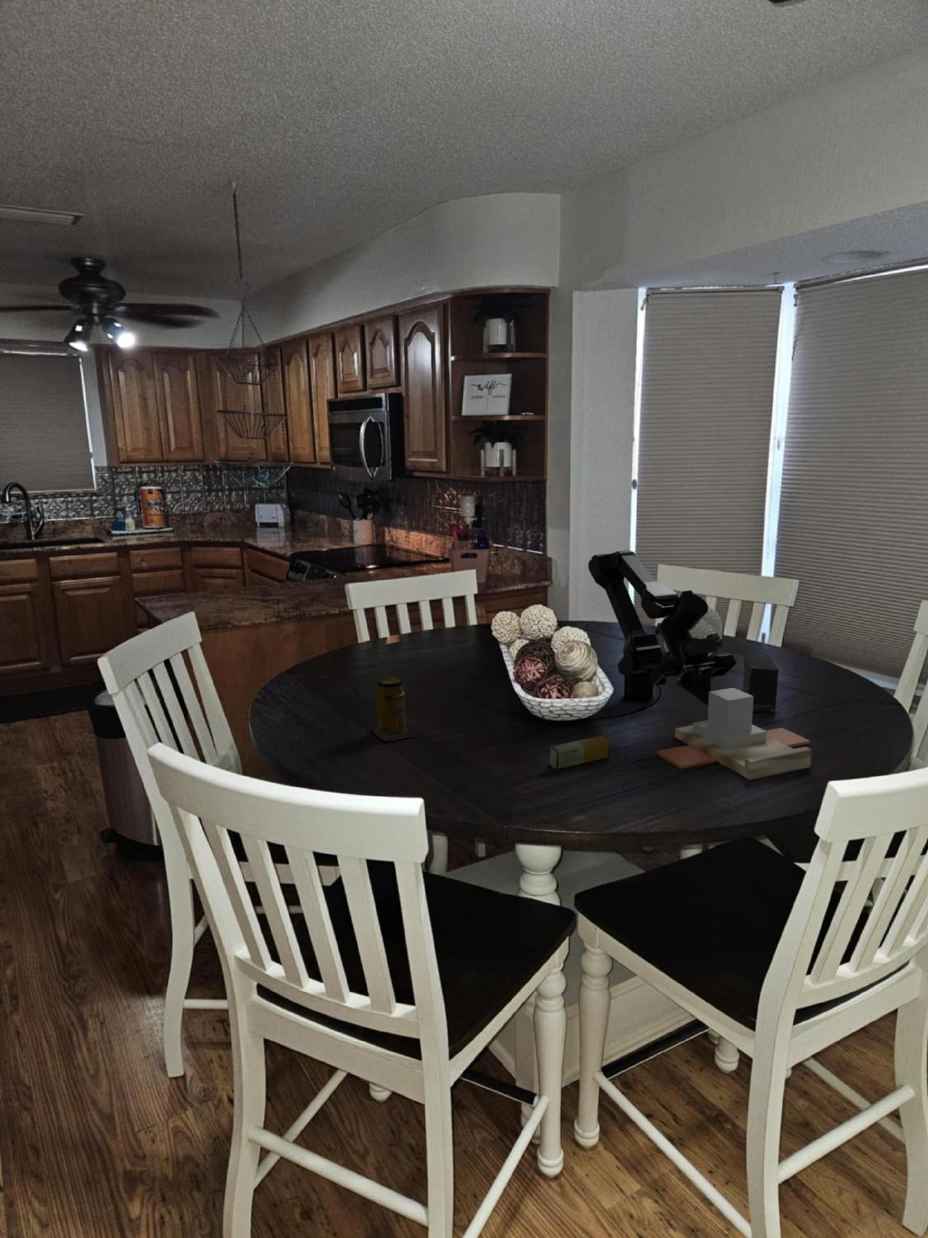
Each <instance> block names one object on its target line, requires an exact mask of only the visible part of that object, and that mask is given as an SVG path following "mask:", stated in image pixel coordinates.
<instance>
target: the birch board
mask: <svg viewBox="0 0 928 1238" xmlns="http://www.w3.org/2000/svg"><path fill="white" fill-rule="evenodd" d="M674 730H675V731H674V737H675V738H676V739H677V740H679V741H681V742H683V743H684V744H686V745H692V746H694V747H695V748H697V749H699V750H701V751H702V752H704V753H706V754H708V755H710V756H711V757H713V758H715V759H716V762H718V763H720V764H721V765H723V766H725V767H726V768H729V769H730V770H732V771H733V772H735V773H737V774H739V775H741V776H742V777H744V778H746V779H748V780H749V781H750V780H755V779H759V778H765V777H769V776H773V775H780V774H783V773H787V772H793V771H798V770H802V769H807V768H811V761H812V760H811V759H812V748H810V747H809V748H808V747H807V746H803V747H798V748H794V747H789V746H787V745H785V744H783V743H781V742H779V741H777V740H774V739H772V738H770V737H768V736H766V741H763V742H758V743H753V744H748V745H742V746H737V747H732V748H727V749H724V748H722V747H720V746H718V745H716V744H714V743H713V742H711V741H709V740H707V739H705V738H703V737H701V736H700V735H698V734H696V733H694V732H693V724H691V725H686V726H680V727H675V729H674Z"/></svg>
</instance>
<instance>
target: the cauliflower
mask: <svg viewBox="0 0 928 1238" xmlns="http://www.w3.org/2000/svg"><path fill="white" fill-rule="evenodd" d="M707 605H708V612H707V613H706V614H705V616H704V617H703V618H702V619H701V620H700V621H699V623H698V624H697V625H696V626H695V627H694V628H693V629H691V630H689V631H690V633H691V636H692V638H695V637H697V638H698V639H703V638H706V637H707V635H710V634H715V633H717V634H718V635H719V637H720V638H721V640H722V638H723V629H724V628H723V622H722V619H721V617H720V615H719V613H718V612H717V610H715V609H714V608H713V607H712V606H711V605H710V604H707ZM666 618H667V617H666ZM663 646H664V651H665V652H666V653H667V652H668V651H669V650H668V647H667V645H666V643H665V641H664V640H663ZM713 653H714V652H712V653H709V654H708V655H709V657H710V656H711V655H712V654H713Z"/></svg>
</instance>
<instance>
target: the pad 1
mask: <svg viewBox="0 0 928 1238" xmlns="http://www.w3.org/2000/svg"><path fill="white" fill-rule="evenodd" d="M656 755H658V756H659V757H660V758H662V759H664V760H665V761H667V762H669V763H670V764H672V765H674V766H675V767H677V768H678V769H680V770H683V769H689V768H692V767H699V766H702V765H707V764H713V763H716V762H717V761H716V759H715V758H713V757H711V756H710V755H708V754H706V753H704V752H702V751H701V750H699V749H697V748H695V747H694V746H692V745H688V744H686V745H682V746H675V747H672V748H668V749H667V748H666V749H662V750H661V749H660V750H657V751H656Z"/></svg>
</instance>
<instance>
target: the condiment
mask: <svg viewBox="0 0 928 1238" xmlns="http://www.w3.org/2000/svg"><path fill="white" fill-rule="evenodd" d="M403 688H404V687H403V680H402V679H401V678H398V677H383V678H381V679H379V680H378V681H377V693H376V710H377V729H378V730H379V732H381V733H382V734H389V735H392V734H400V733H402V732H404V731H405V730H406V729H407V728H406V726H407V725H406V724H407V721H406V720H407V718H406V717H407V716H406V715H407V714H406V698H405V692H404V690H403ZM405 728H406V729H405Z"/></svg>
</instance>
